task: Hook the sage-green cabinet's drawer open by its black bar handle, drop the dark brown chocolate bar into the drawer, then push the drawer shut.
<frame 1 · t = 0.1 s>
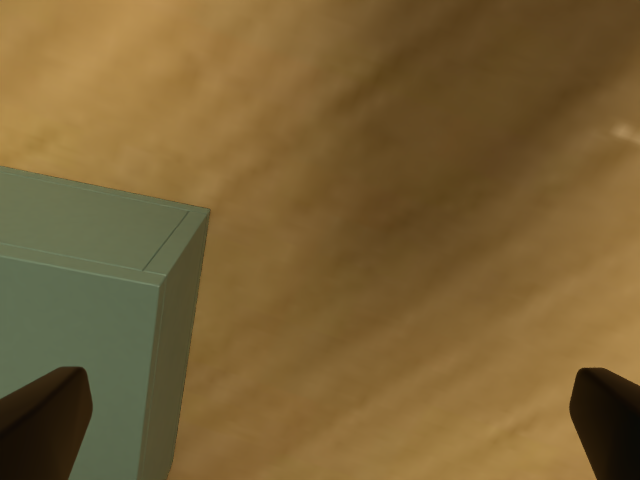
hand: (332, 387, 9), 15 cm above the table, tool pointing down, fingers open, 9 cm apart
cabinet: (46, 322, 25), on the table
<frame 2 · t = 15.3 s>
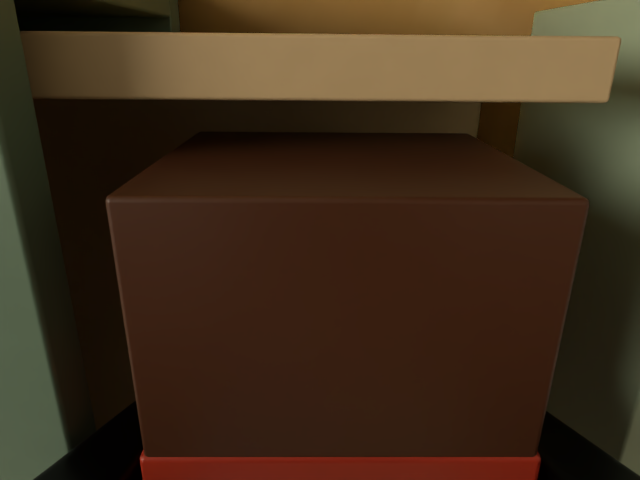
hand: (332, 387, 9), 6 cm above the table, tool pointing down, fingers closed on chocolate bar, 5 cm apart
chocolate bar: (330, 357, 10), point 5 cm above the table, touching gripper
drawer: (382, 332, 11), point 4 cm above the table, slide at 8.5 cm
when the fingers open (9 cm above the table, at t = 32.0 s): chocolate bar drops 6 cm, resting on drawer.
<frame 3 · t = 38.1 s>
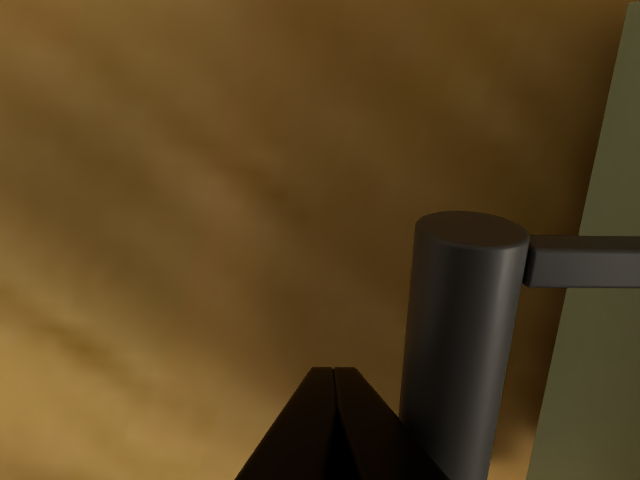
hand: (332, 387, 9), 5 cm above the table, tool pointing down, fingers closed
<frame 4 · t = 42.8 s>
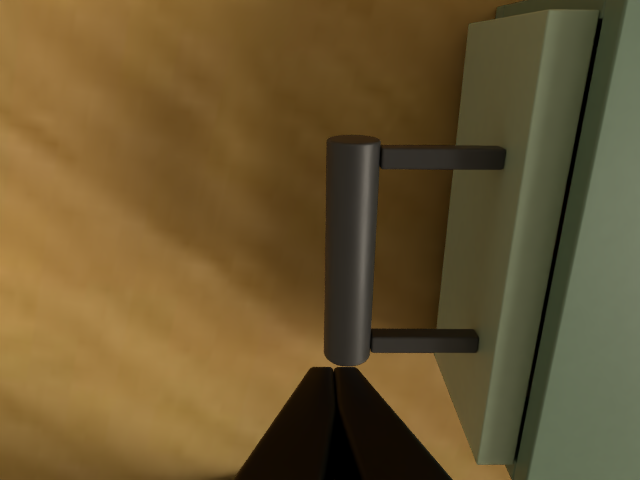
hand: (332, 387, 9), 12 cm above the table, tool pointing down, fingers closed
chocolate bar: (615, 217, 18), point 2 cm above the table, touching drawer
drawer: (614, 237, 17), point 4 cm above the table, slide at 0.0 cm, touching cabinet, chocolate bar
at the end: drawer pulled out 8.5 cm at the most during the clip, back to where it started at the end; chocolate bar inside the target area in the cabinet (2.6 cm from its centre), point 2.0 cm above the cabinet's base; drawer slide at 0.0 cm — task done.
